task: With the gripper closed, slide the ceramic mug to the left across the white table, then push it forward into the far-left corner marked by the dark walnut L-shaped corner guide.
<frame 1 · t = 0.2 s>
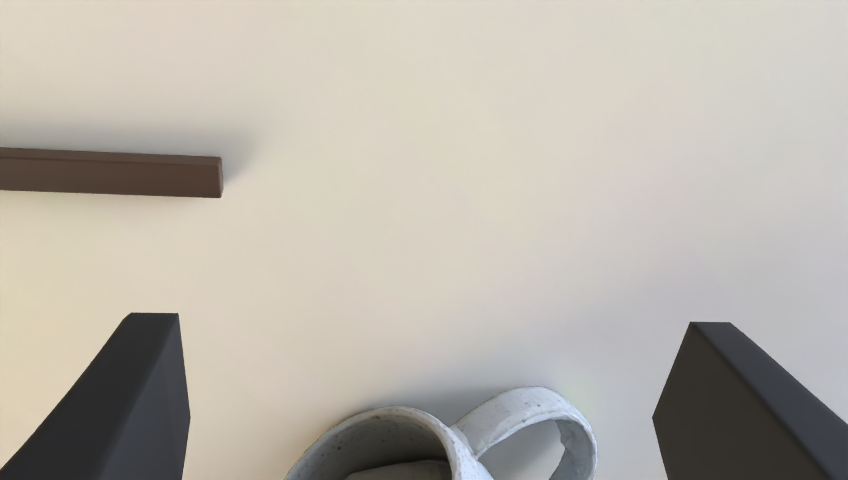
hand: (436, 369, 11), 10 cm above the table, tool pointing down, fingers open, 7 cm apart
ceramic mug: (437, 449, 28), on the table
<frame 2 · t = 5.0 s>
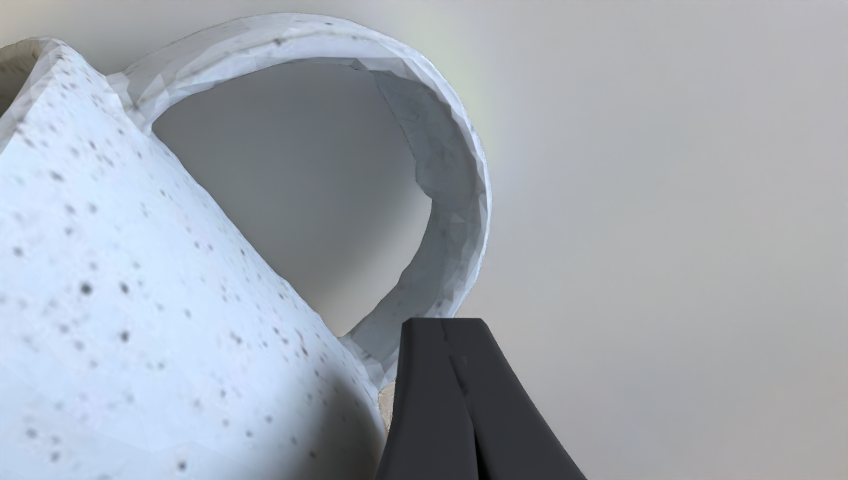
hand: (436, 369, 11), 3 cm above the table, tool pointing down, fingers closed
ceramic mug: (167, 214, 13), on the table, touching gripper
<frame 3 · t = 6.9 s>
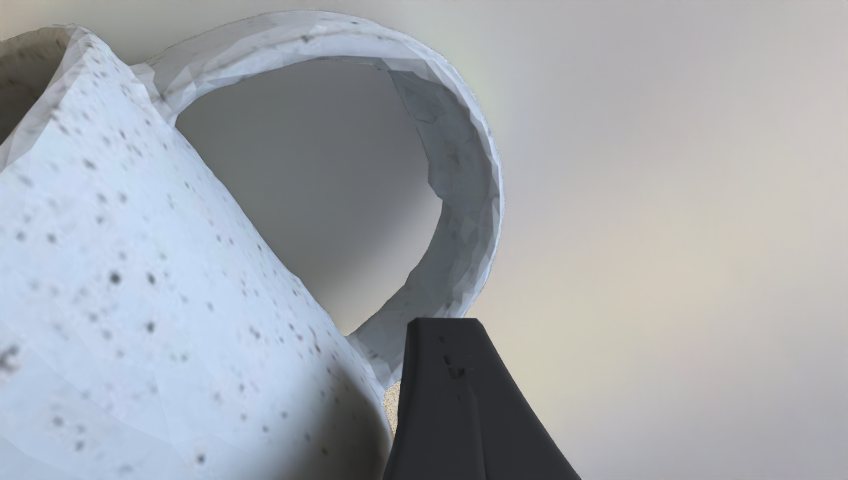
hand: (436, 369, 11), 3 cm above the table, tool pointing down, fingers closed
ceramic mug: (175, 207, 13), on the table, touching gripper
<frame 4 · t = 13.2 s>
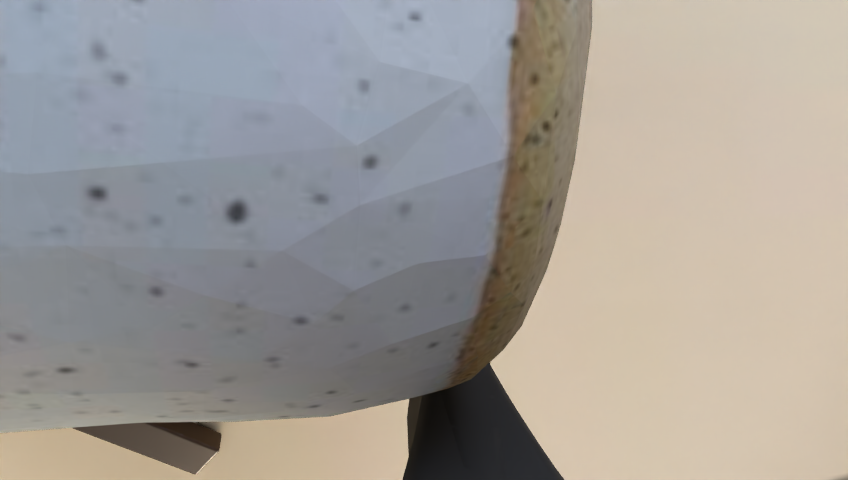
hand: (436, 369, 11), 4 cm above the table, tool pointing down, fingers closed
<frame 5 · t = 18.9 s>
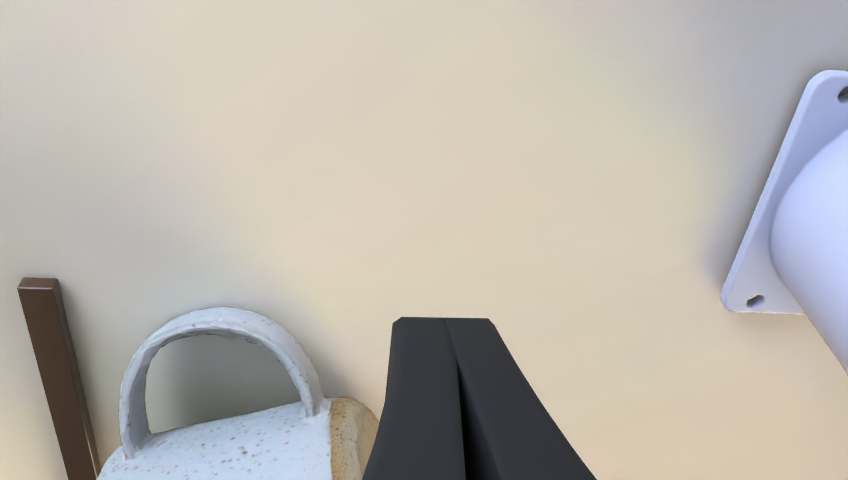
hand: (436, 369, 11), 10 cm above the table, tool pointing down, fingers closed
ceramic mug: (254, 411, 27), on the table
corner guide: (327, 475, 29), on the table
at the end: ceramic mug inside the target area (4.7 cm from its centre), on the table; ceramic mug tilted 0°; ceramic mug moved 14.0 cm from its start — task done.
